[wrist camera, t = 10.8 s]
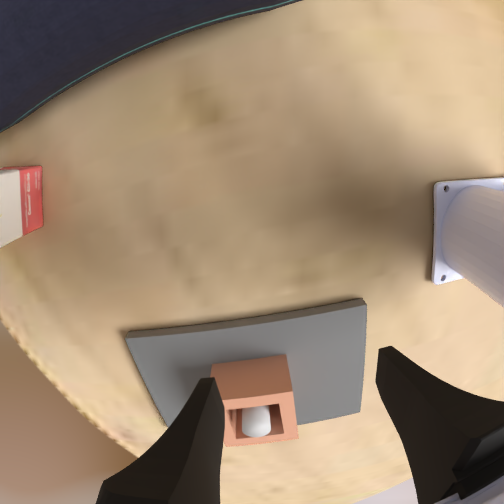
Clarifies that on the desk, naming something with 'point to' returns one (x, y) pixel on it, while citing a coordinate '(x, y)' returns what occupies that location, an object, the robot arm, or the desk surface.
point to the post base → (259, 346)
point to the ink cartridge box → (20, 202)
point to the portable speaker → (90, 40)
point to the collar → (256, 397)
